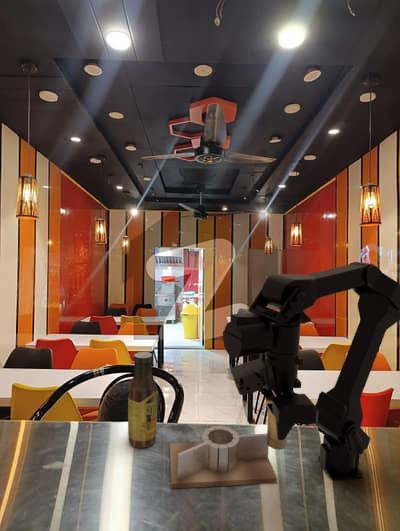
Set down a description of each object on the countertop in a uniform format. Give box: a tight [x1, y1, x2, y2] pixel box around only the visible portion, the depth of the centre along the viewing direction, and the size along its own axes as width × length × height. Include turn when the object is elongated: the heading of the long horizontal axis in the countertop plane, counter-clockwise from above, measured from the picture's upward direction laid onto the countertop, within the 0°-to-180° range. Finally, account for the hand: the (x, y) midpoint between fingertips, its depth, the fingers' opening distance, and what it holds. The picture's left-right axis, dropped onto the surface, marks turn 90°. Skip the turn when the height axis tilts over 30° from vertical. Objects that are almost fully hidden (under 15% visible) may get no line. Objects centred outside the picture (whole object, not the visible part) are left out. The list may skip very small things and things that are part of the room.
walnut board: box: [169, 441, 278, 490], centre depth 74 cm, size 20×12×1 cm, turn 96°
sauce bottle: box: [127, 351, 158, 449], centre depth 80 cm, size 7×6×20 cm
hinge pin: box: [265, 395, 288, 450], centre depth 64 cm, size 5×5×8 cm
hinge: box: [178, 425, 269, 480], centre depth 72 cm, size 19×9×5 cm, turn 96°
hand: (277, 432), depth 64 cm, fingers closed on hinge pin, 4 cm apart
